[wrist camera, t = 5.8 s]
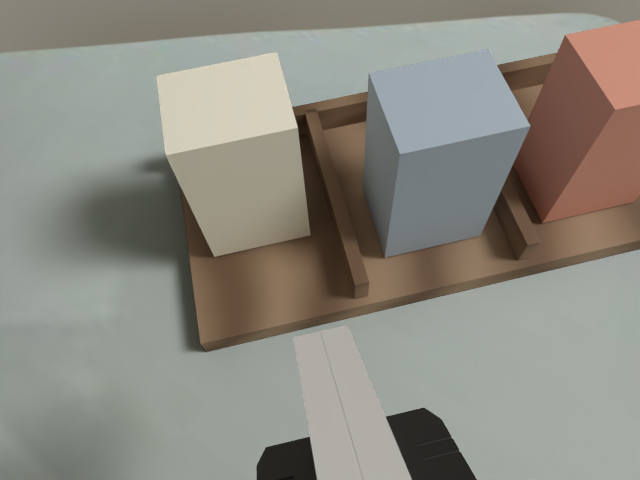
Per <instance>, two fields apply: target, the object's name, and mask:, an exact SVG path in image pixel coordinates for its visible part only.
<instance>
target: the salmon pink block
mask: <svg viewBox="0 0 640 480" xmlns="http://www.w3.org/2000/svg"><path fill="white" fill-rule="evenodd" d="M528 122H529V124H530V128H529V131H528V133H527V135H526V137H525V139H524V142H523V144H522V146H521V148H520V150H519V152H518V155H517V157H516V159H515V161H514V163H513V166H514V168H515V170H516V172H517V174H518V176H519V178H520V180H521V182H522V184H523V186H524V188H525V190H526V192H527V194H528V196H529V198H530V200H531V202H532V203H533V205H534V207H535V209H536V211H537V213H538V215H539V217H540V219H541V221H542V223H545V222H549V221H554V220H558V219H562V218H567V217H571V216H575V215H580V214H584V213H588V212H593V211H597V210H601V209H606V208H610V207H615V206H619V205H623V204H628V203H632V202H634V201H635V200H636V199H637V198H638V197H639V196H640V20H637V21H632V22H627V23H622V24H617V25H612V26H607V27H602V28H597V29H592V30H587V31H582V32H578V33H573V34H568V35H565V37H564V39H563V41H562V44H561V46H560V48H559V50H558V53H557V55H556V57H555V59H554V62H553V64H552V66H551V68H550V71H549V73H548V75H547V77H546V80H545V82H544V84H543V86H542V89H541V91H540V93H539V95H538V98H537V100H536V102H535V104H534V107H533V109H532V111H531V113H530V116H529V118H528Z"/></svg>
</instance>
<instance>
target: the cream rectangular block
mask: <svg viewBox="0 0 640 480" xmlns="http://www.w3.org/2000/svg"><path fill="white" fill-rule="evenodd" d="M156 77H157V85H158V94H159V103H160V111H161V120H162V128H163V137H164V146H165V154H166V157H167V159H168V161H169V163H170V166H171V168H172V170H173V172H174V174H175V176H176V178H177V180H178V182H179V184H180V186H181V189H182V191H183V193H184V195H185V197H186V199H187V201H188V203H189V205H190V207H191V209H192V212H193V214H194V216H195V218H196V220H197V222H198V224H199V226H200V228H201V230H202V232H203V235H204V237H205V239H206V241H207V243H208V245H209V247H210V249H211V251H212V253H213V255H214V257H216V256H221V255H225V254H230V253H234V252H239V251H243V250H247V249H252V248H256V247H261V246H265V245H270V244H274V243H279V242H283V241H288V240H292V239H296V238H301V237H305V236H310V227H309V219H308V210H307V202H306V193H305V185H304V176H303V168H302V159H301V151H300V142H299V134H298V127H297V123H296V119H295V116H294V112H293V109H292V105H291V101H290V98H289V94H288V91H287V87H286V83H285V80H284V76H283V72H282V69H281V65H280V62H279V58H278V54H277V52H275V53H270V54H265V55H259V56H254V57H249V58H244V59H239V60H234V61H229V62H224V63H219V64H214V65H209V66H204V67H199V68H194V69H189V70H184V71H178V72H173V73H168V74H163V75H158V76H156Z"/></svg>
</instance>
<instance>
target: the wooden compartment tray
mask: <svg viewBox="0 0 640 480" xmlns="http://www.w3.org/2000/svg"><path fill="white" fill-rule="evenodd" d="M556 55H557V53H554V54H549V55H544V56H539V57H534V58H529V59H524V60H520V61H515V62H510V63H505V64H500V65H497V66H498V68H499V70H500V72H501V74H502V75H503V77H504V79H505V81H506V83H507V84H508V86H509V88H510V90H511V92H512V93H513V95H514V97H515V99H516V101H517V102H518V104H519V106H520V108H521V110H522V111H523V113H524V115H525V117H526V119H527V120H528V118H529V116H530V113H531V111H532V109H533V107H534V104H535V102H536V100H537V98H538V95H539V93H540V91H541V89H542V86H543V84H544V82H545V80H546V77H547V75H548V73H549V71H550V68H551V66H552V64H553V62H554V59H555V57H556ZM367 98H368V92H364V93H359V94H354V95H349V96H345V97H340V98H335V99H330V100H325V101H320V102H315V103H311V104H306V105H301V106H296V107H292V109H293V112H294V116H295V119H296V123H297V127H298V134H299V142H300V151H301V159H302V168H303V176H304V185H305V193H306V202H307V210H308V219H309V227H310V236H305V237H301V238H296V239H292V240H288V241H283V242H279V243H274V244H270V245H265V246H261V247H256V248H252V249H247V250H243V251H239V252H234V253H230V254H225V255H221V256H216V257H214V255H213V253H212V251H211V249H210V247H209V245H208V243H207V241H206V239H205V237H204V235H203V232H202V230H201V228H200V226H199V224H198V222H197V220H196V218H195V216H194V214H193V212H192V209H191V207H190V205H189V203H188V201H187V199H186V197H185V195H184V193H183V191H182V189H181V186H180V189H181V197H182V205H183V212H184V220H185V228H186V236H187V244H188V251H189V259H190V267H191V275H192V282H193V290H194V298H195V306H196V314H197V321H198V329H199V337H200V344H201V345H202V347H203V348H204V349H205V351H206V352H208V351H212V350H217V349H221V348H225V347H229V346H233V345H238V344H242V343H246V342H250V341H255V340H259V339H263V338H267V337H271V336H276V335H280V334H284V333H288V332H292V331H297V330H301V329H305V328H309V327H313V326H318V325H322V324H326V323H330V322H335V321H339V320H343V319H347V318H351V317H356V316H360V315H364V314H368V313H372V312H377V311H381V310H385V309H389V308H393V307H398V306H402V305H406V304H410V303H415V302H419V301H423V300H427V299H431V298H436V297H440V296H444V295H448V294H452V293H457V292H461V291H465V290H469V289H473V288H478V287H482V286H486V285H490V284H495V283H499V282H503V281H507V280H511V279H516V278H520V277H524V276H528V275H532V274H537V273H541V272H545V271H549V270H553V269H558V268H562V267H566V266H570V265H575V264H579V263H583V262H587V261H591V260H596V259H600V258H604V257H608V256H612V255H617V254H621V253H625V252H629V251H633V250H638V249H640V196H639V197H638V198H637V199H636V200H635V201H634V202H632V203H628V204H623V205H619V206H615V207H610V208H606V209H601V210H597V211H593V212H588V213H584V214H580V215H575V216H571V217H567V218H562V219H558V220H554V221H549V222H545V223H542V221H541V219H540V217H539V215H538V213H537V211H536V209H535V207H534V205H533V203H532V202H531V200H530V198H529V196H528V194H527V192H526V190H525V188H524V186H523V184H522V182H521V180H520V178H519V176H518V174H517V172H516V170H515V168H514V166H512V168H511V170H510V172H509V174H508V176H507V179H506V181H505V183H504V185H503V187H502V189H501V192H500V194H499V196H498V198H497V200H496V203H495V205H494V207H493V209H492V211H491V213H490V216H489V218H488V220H487V222H486V224H485V227H484V229H483V231H482V233H481V235H480V236H477V237H473V238H469V239H464V240H460V241H455V242H451V243H447V244H442V245H438V246H434V247H429V248H425V249H421V250H416V251H412V252H408V253H403V254H399V255H395V256H390V257H386V258H385V257H384V253H383V250H382V247H381V244H380V241H379V238H378V235H377V232H376V229H375V226H374V223H373V220H372V217H371V214H370V211H369V208H368V205H367V202H366V199H365V196H364V193H363V175H364V156H365V136H366V117H367Z"/></svg>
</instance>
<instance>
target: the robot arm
mask: <svg viewBox="0 0 640 480" xmlns="http://www.w3.org/2000/svg"><path fill="white" fill-rule="evenodd" d="M293 341H294V347H295V353H296V358H297V364H298V370H299V376H300V382H301V388H302V394H303V400H304V405H305V411H306V417H307V423H308V429H309V435H310V437H307V438H303V439H299V440H295V441H291V442H286V443H282V444H278V445H274V446H270V447H266V448H265V450H264V452H263V454H262V456H261V458H260V460H259V462H258V464H257V480H477V479H476V478H475V476H474V474H473V473H472V471H471V469H470V467H469V466H468V464H467V462H466V461H465V459H464V457H463V455H462V454H461V452H459V449H458V447H457V445H456V443H455V442H454V440H453V439H452V438H451V435H450V433H449V432H448V430H447V428H446V426H445V425H444V423H443V421H442V420H441V419H440V418H439V417H437V416H436V415H434V414H433V413H431V412H430V411H428V410H427V409H425V408H421V409H417V410H412V411H408V412H404V413H400V414H396V415H392V416H387V417H386V416H385V414H384V412H383V409H382V407H381V404H380V402H379V400H378V397H377V395H376V392H375V390H374V388H373V385H372V383H371V380H370V378H369V376H368V373H367V371H366V368H365V366H364V364H363V361H362V359H361V356H360V354H359V352H358V349H357V347H356V344H355V342H354V340H353V337H352V335H351V333H350V330H349V328H348V325H344V326H340V327H336V328H331V329H327V330H322V331H318V332H314V333H309V334H305V335H300V336H296V337H293Z"/></svg>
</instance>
